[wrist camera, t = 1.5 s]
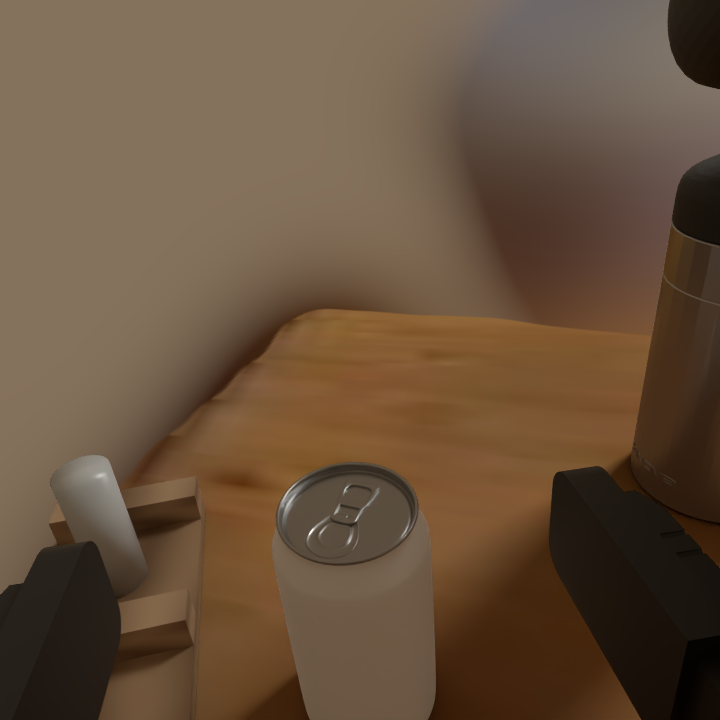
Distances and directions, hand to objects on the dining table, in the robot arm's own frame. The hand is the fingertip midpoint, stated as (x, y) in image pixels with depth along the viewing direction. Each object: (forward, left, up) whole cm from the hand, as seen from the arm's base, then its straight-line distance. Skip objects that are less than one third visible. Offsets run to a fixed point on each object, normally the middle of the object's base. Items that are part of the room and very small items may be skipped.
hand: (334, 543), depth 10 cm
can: (-1, -10, -21) cm, 23 cm away
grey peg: (+12, -20, -19) cm, 30 cm away
